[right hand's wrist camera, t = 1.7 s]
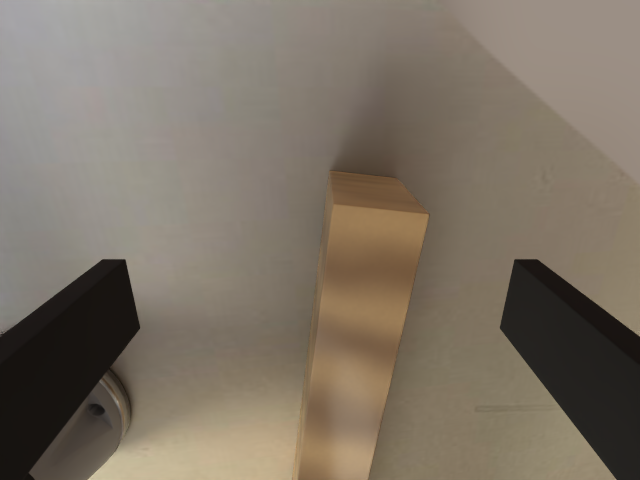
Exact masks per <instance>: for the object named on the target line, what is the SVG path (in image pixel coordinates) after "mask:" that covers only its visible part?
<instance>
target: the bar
mask: <svg viewBox="0 0 640 480" xmlns="http://www.w3.org/2000/svg"><path fill="white" fill-rule="evenodd" d="M428 219H429V213H428V212H427V211H426V210H425V209H424V207H423V206H422V205H421V204H420V203H419V202H418V201H417V200H416V199H415V198H414V196H413V195H412V194H411V193H410V192H409V191H408V190H407V189H406V188H405V187H404V186H403V184H402V183H401V182H400V181H399V180H398V179H397V178H391V177H383V176H374V175H365V174H356V173H347V172H338V171H329V178H328V186H327V194H326V203H325V211H324V219H323V228H322V236H321V244H320V253H319V261H318V269H317V278H316V286H315V294H314V303H313V311H312V319H311V328H310V336H309V344H308V353H307V361H306V369H305V378H304V386H303V394H302V402H301V411H300V419H299V427H298V436H297V444H296V452H295V461H294V469H293V477H292V480H368V478H369V474H370V469H371V465H372V461H373V456H374V452H375V448H376V443H377V439H378V435H379V430H380V426H381V422H382V418H383V413H384V409H385V405H386V400H387V396H388V392H389V387H390V383H391V379H392V374H393V370H394V366H395V362H396V357H397V353H398V349H399V344H400V340H401V336H402V331H403V327H404V323H405V318H406V314H407V310H408V306H409V301H410V297H411V293H412V288H413V284H414V280H415V275H416V271H417V267H418V262H419V258H420V254H421V250H422V245H423V241H424V237H425V232H426V228H427V224H428Z"/></svg>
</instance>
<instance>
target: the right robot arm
mask: <svg viewBox="0 0 640 480" xmlns="http://www.w3.org/2000/svg"><path fill="white" fill-rule="evenodd" d="M139 329H140V325H139V320H138V316H137V311H136V306H135V302H134V297H133V292H132V288H131V283H130V279H129V274H128V269H127V265H126V260H125V259H103V260H101V261H100V262H99V263H97V264H96V265H95V266H93V267H92V268H91V269H89V270H88V271H87V272H85V273H84V274H83V275H81V276H80V277H79V278H77V279H76V280H75V281H73V282H72V283H71V284H69V285H68V286H67V287H65V288H64V289H63V290H62V291H60V292H59V293H58V294H56V295H55V296H54V297H52V298H51V299H50V300H48V301H47V302H46V303H44V304H43V305H42V306H40V307H39V308H38V309H36V310H35V311H34V312H32V313H31V314H30V315H28V316H27V317H26V318H24V319H23V320H22V321H20V322H19V323H18V324H17V325H15V326H14V327H13V328H11V329H10V330H9V331H7V332H6V333H5V334H3V335H0V480H87V479H89V478H90V477H91V476H92V475H93V474H94V473H95V472H96V471H97V470H98V469H99V468H100V467H101V466H102V465H103V464H104V463H105V462H106V461H107V460H108V459H109V458H110V457H111V456H112V454H113V453H114V452H115V451H116V449H117V447H118V446H119V444H120V442H121V441H122V439H123V437H124V435H125V434H126V432H127V429H128V427H129V423H130V417H131V411H130V404H129V400H128V397H127V395H126V392H125V390H124V388H123V386H122V385H121V383H120V382H119V380H118V379H117V378H116V376H115V375H114V374H113V373H112V372H111V371H110V370H109V368H110V367H111V365H112V364H113V363H114V361H115V360H116V359H117V358H118V356H119V355H120V354H121V352H122V351H123V350H124V349H125V347H126V346H127V345H128V343H129V342H130V341H131V339H132V338H133V337H134V336H135V334H136V333H137V332H138V330H139ZM500 329H501V330H502V332H503V333H504V334H505V336H506V337H507V338H508V339H509V341H510V342H511V343H512V345H513V346H514V347H515V349H516V350H517V351H518V352H519V354H520V355H521V356H522V358H523V359H524V360H525V361H526V363H527V364H528V365H529V367H530V368H531V369H532V371H533V372H534V373H535V374H536V376H537V377H538V378H539V380H540V381H541V382H542V383H543V385H544V386H545V387H546V389H547V390H548V391H549V393H550V394H551V395H552V396H553V398H554V399H555V400H556V402H557V403H558V404H559V406H560V407H561V408H562V409H563V411H564V412H565V413H566V415H567V416H568V417H569V418H570V420H571V421H572V422H573V424H574V425H575V426H576V428H577V429H578V430H579V431H580V433H581V434H582V435H583V437H584V438H585V439H586V441H587V442H588V443H589V444H590V446H591V447H592V448H593V450H594V451H595V452H596V453H597V455H598V456H599V457H600V459H601V460H602V461H603V463H604V464H605V465H606V466H607V468H608V469H609V470H610V472H611V473H612V474H613V475H614V477H615V478H616V479H617V480H640V337H639V336H638V335H637V334H635V333H634V332H633V331H631V330H630V329H629V328H627V327H626V326H625V325H623V324H622V323H621V322H620V321H618V320H617V319H616V318H614V317H613V316H612V315H610V314H609V313H608V312H606V311H605V310H604V309H602V308H601V307H600V306H598V305H597V304H596V303H594V302H593V301H592V300H590V299H589V298H588V297H586V296H585V295H584V294H582V293H581V292H580V291H578V290H577V289H576V288H575V287H573V286H572V285H571V284H569V283H568V282H567V281H565V280H564V279H563V278H561V277H560V276H559V275H557V274H556V273H555V272H553V271H552V270H551V269H549V268H548V267H547V266H545V265H544V264H543V263H541V262H540V261H539V260H537V259H515V260H514V265H513V269H512V274H511V279H510V283H509V288H508V292H507V297H506V302H505V306H504V311H503V316H502V320H501V325H500Z"/></svg>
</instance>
